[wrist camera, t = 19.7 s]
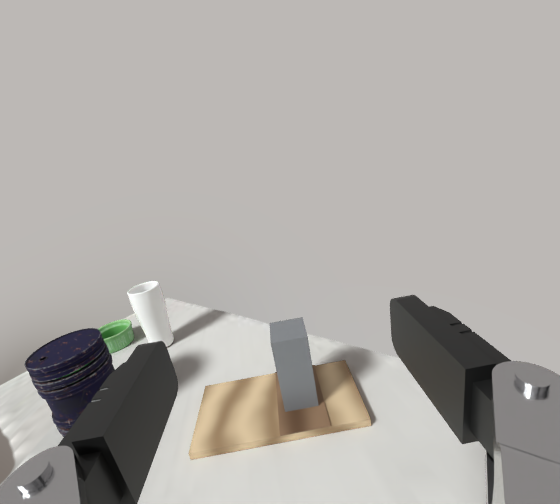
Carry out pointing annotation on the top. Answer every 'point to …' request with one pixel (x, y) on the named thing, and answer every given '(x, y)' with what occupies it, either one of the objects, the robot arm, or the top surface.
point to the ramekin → (117, 334)
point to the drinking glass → (151, 311)
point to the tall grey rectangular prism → (293, 364)
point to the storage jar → (70, 373)
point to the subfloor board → (274, 412)
